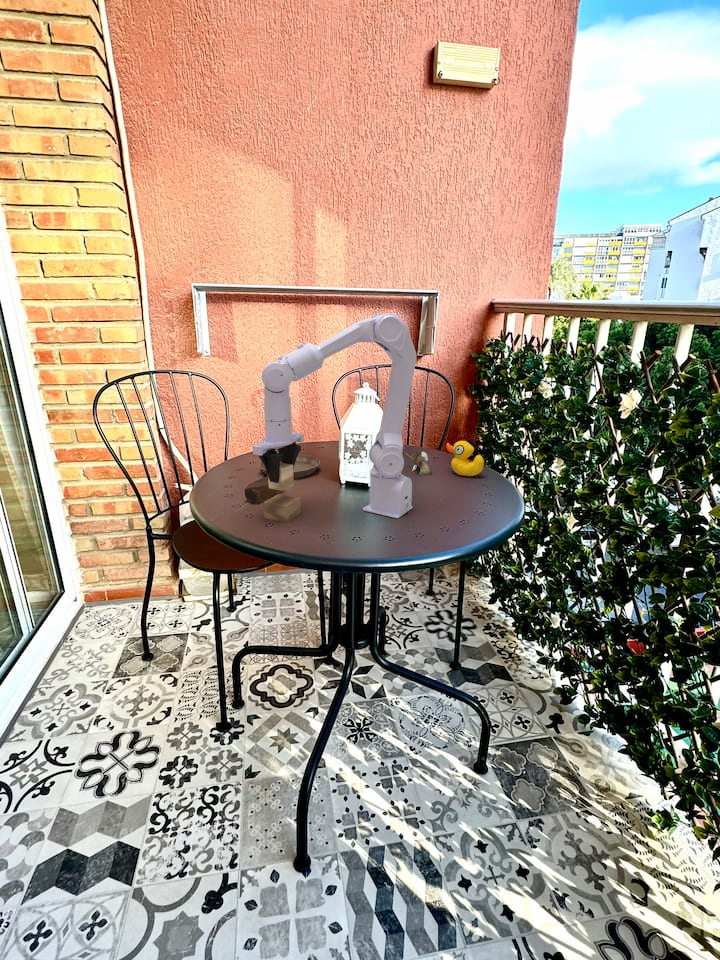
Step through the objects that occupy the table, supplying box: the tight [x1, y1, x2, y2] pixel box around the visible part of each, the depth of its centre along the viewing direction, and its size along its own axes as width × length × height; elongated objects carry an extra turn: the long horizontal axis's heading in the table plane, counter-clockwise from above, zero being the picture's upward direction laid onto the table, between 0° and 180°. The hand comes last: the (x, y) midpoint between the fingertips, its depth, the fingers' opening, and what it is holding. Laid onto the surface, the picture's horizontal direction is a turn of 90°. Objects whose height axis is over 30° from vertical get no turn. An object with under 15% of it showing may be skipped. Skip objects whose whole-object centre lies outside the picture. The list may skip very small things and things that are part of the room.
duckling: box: [445, 440, 485, 477], centre depth 140 cm, size 11×5×10 cm, turn 58°
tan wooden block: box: [263, 493, 302, 523], centre depth 112 cm, size 6×6×4 cm
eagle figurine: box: [405, 451, 433, 477], centre depth 144 cm, size 8×7×9 cm
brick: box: [244, 475, 285, 505], centre depth 124 cm, size 11×4×5 cm, turn 149°
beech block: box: [268, 463, 295, 492], centre depth 110 cm, size 4×4×5 cm
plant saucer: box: [258, 454, 321, 479], centre depth 144 cm, size 18×18×3 cm
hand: (281, 479), depth 110 cm, fingers closed on beech block, 4 cm apart
